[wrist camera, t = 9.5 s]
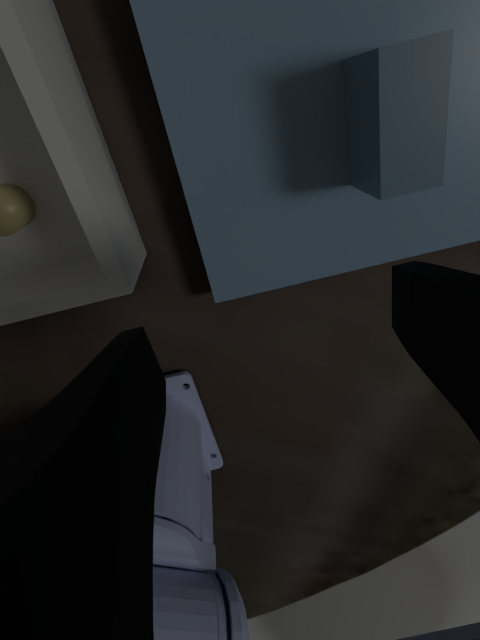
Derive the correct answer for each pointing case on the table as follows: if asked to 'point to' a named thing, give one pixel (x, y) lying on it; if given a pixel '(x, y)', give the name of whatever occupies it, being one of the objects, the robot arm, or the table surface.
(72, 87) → the parts tub
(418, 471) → the table surface
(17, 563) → the robot arm
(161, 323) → the table surface
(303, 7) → the snap lid
